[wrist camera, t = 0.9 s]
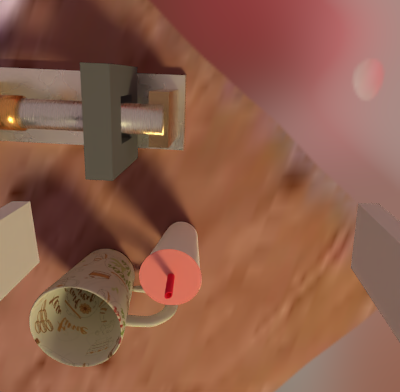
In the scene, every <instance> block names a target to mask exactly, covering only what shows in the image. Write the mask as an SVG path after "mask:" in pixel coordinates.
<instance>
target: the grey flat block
mask: <svg viewBox="0 0 400 392" xmlns="http://www.w3.org/2000/svg"><path fill="white" fill-rule="evenodd" d="M80 77H81V97H82V117H83V137H84V156H85V176H86V179H90V180H108V181H113V180H114V179H115V178H116V177H118V176H119V175H120V174H121V173H122V172H123V171H124V170H125V169H126V168H127V167H128V166H129V165H131V164H132V163H133V162H134V161H135V160H136V159H137V158H138V134H125V133H121V103H137V67H132V66H124V65H116V64H105V63H81V62H80Z"/></svg>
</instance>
